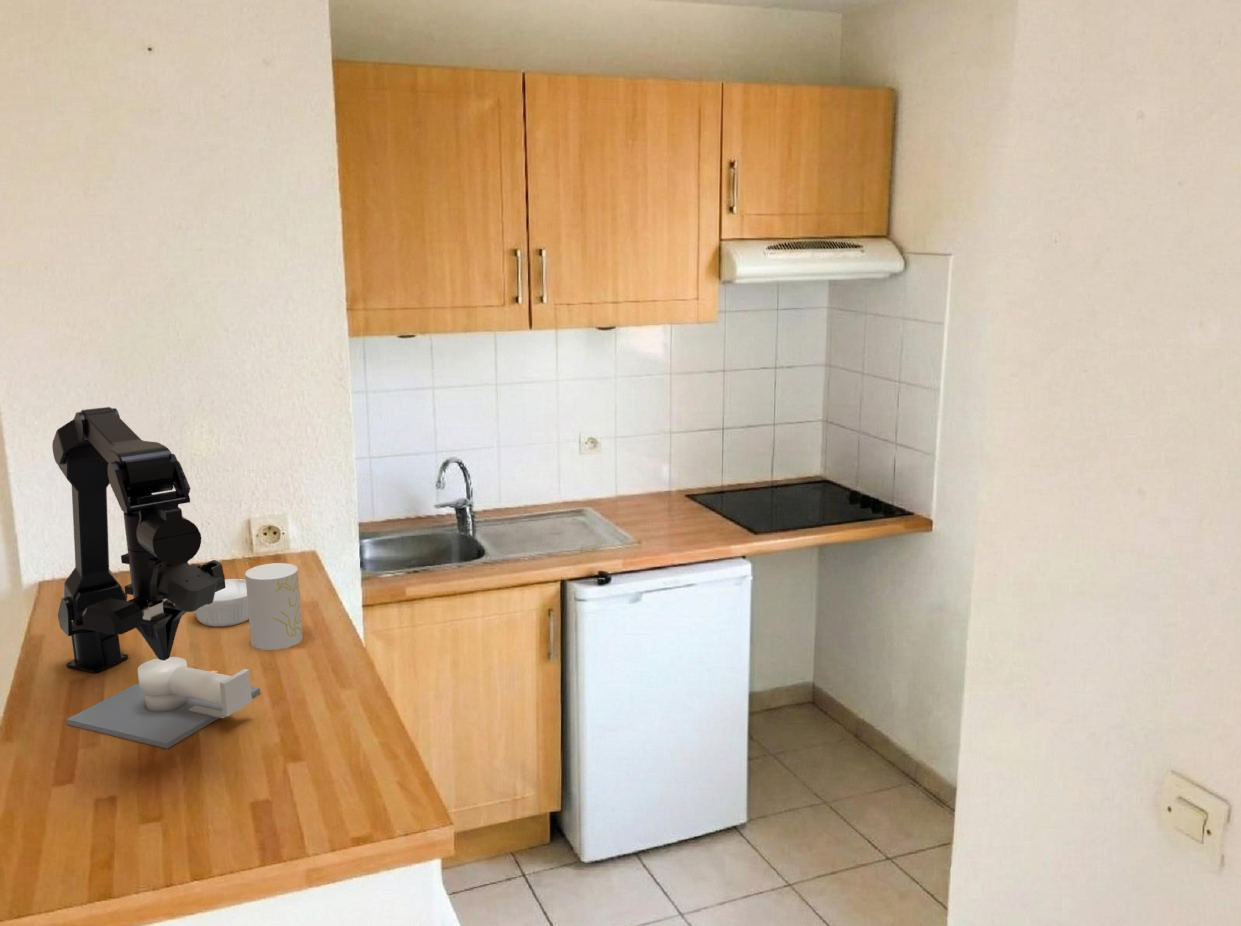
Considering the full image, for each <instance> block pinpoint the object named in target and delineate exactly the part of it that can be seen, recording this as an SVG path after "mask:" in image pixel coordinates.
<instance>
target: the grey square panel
mask: <svg viewBox="0 0 1241 926" xmlns="http://www.w3.org/2000/svg"><path fill="white" fill-rule="evenodd" d="M209 672H214V673H219V672H220V671H219V670H213V669H212V670H210V671H209ZM219 674H220V673H219ZM260 694H261V687H256V686H252V685H251V696H252V699H253V698H254V697H255V698H256V697H257V696H258V695H260ZM226 717H227V716H223V711H222V705H220V704H215V703H211V702H206V701H201V700H197V699H192V698H188V697H183V696H178V695H174V694H173V693H171V694H167V695H159V696H151V695H145V694H143V693H141V692H140V687H139V682H137V683H135V684H133V685H131V686H129V687H127V688H125V689H123V690H121V691H120V692H117V693H116V694H113V695H112V696H110V697H108V698H106V699H103V700H101V701H99V702H97V703H96V704H94V705H92V706H90V707H88V708H85V709H84V710H81V711H80V712H78V713H76V714H74V715H73V716H70V717H69V718H66V724H67V725H68V726H72V727H76V728H78V729H79V728H80V729H84V730H89V731H92V732H97V733H100V734H105V735H110V736H114V737H118V738H121V739H126V740H129V741H134V742H137V743H138V742H139V743H141V744H147V745H151V746H155V747H158V748H162V749H169V748H171V747H173V746H175V745H176V744H178V743H179V742H181V741H183V740H184V739H186V738H188V737H190V736H192V735H194V733H196V732H198V731H199V730H201V729H203V728H204V727H206V726H209V724H211V723H213V722H215V721H216V720H218V719H224V718H226Z"/></svg>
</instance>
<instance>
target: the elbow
mask: <svg viewBox="0 0 1241 926" xmlns="http://www.w3.org/2000/svg"><path fill="white" fill-rule="evenodd" d="M250 674H251V673H250V669H246V668H244V669H242V670H240V671H238V672H237V673H235V674H233V675H228V674H223V673H214V672H210V671H207V670H204V669H198V668H193V667H189V666H188V662H187V661H186V659H185V658H183V657H178V656H170V657H169V659H166V660H165V661H163V660H159V659H158V657H156V658H153V659H150V660H148V661H145V662H144V663H142V664H140V665H139V666H138V668H137V676H138V677H137V678H138V683H139V687H140V692H141V693H143V694H145V695H151V696H159V695H167V694H171V693H173V694H174V695H178V696H183V697H188V698H192V699H197V700H201V701H206V702H211V703H215V704H220V705H222V711H223V716H226V717H229V716H231V715H232V714H235V712H237V711H240V710H241V709H242V708H244V707H246V706H248V705H250V704H251V703H252V702H253V698H252V696H251V686H252V685H251V677H250Z"/></svg>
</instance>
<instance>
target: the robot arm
mask: <svg viewBox="0 0 1241 926" xmlns="http://www.w3.org/2000/svg"><path fill="white" fill-rule="evenodd" d="M120 416H121V415H120V413H119V410H118V409H117V408H115V407H114V408H112V407H111V406H105V407H98V408H97V407H96V408H88V409H87V408H86V409H82V410H81V411H77V412H76V413H75V415H74V418H73V419H72V420H70V421H68V422H67V423H65V424H64V425H62V426H61V427H59V428H58V429H57V430H56V432H55V434H54V438H53V440H52V444H51V445H52V453H53V458H54V461H55V463H56V465H57V467H58V469H60V471H61V472H62V475H63V476H64V477H65V479H66V480H67V481H68V482H69V483H70V485H71V500H72V519H73V525H72V526H73V542H74V563H75V568H74V569H73V570H72V572H71V573H70V574H69V576H68V577H67V578H66V579H65V582H64V585H63V587H64V588H63V590H64V593H63V594H64V596H63V597H61V599H60V604H59V608H58V612H57V618H58V623H59V628H60V629H61V631H62V632H63V633H64V634H65V635H66V636H67V637H71V644H72V652H73V660H70V661H68V662H66V664H65V665H66V668H71V669H75V670H80V671H85V672H88V673H89V672H90V673H100V672H101V671H104V670H105V669H108V668H109V667H112V666H114V665H116V664H118V663H120V662H122V661H124V660H127V659H128V658H129V654H127V653H123V652H121V644H120V638H119V637H120V635H123V634H126V633H128V632H130V631H132V630H134V629H136V630H137V631H138V632H139V633H140V634H141V636H142V637H143V639H144V640H145V642H146V643H147V644H148V646H149V647H150V649H151V651H152V652H153V653H154V654H155V656H156V658H158V659H159V660H163V661H165V660H166V659H169V657H171V654H172V649H173V645H174V642H175V639H176V638H175V637H176V634H177V632H178V631H177V630H178V627H179V624H180V621H181V619H182V617H183V616H184V615H185V614H186V613H194V612H195V611H196V610H197V609H198V608H200V607H202V606H204V605H206V604H208V605H209V604H211V603H212V602H213V600H214V595H215V592H217V591H219V590H222V589H224V588H226V587H225V579H226V578H225V574H224V573H225V572H224V569H223V564H222V563H221V562H219V561H218V560H215V559H213V560H209V561H207V562H205V563H204V564H199V563H198V564H196V563H192V564H189V563H188V562H189V561H191V560H192V559H193V558H194V557H195V556H196V555H197V554H198V552H199V550H200V547H201V545H202V533H201V531H200V530H199V528H198V526H197V525H196V524H195V523H194V522H192V521H191V520H189V519H187V518H186V517H184V516H183V511H182V508H181V507H179V505H183V504H188V503H191V497H190V495H189V494H190V492H191V486H190V483H189V482H188V479H187V477H186V474H185V471H184V469H183V467H182V464H181V462H180V461H179V460H178V458H177V457H176V454H174V453H172V451H171V450H170V449H169V448H168V447H167V446H165V445H164V444H162V443H160V442H158V441H148V440H142V439H141V438H140V437H139V436H138V435H137V433H136V432H135V431H133V430H132V428H131V427H129V425H128V424H127V423H125V421H124V420H122V419H121V417H120ZM109 485H110V487H111V489H112V492H113V494H114V496H115V498H116V500H117V503H118V506H119V507H120V509H121V511H122V512H123V520H124V521H123V522H124V528H125V529H124V530H125V539H126V547H127V553H125V554H122V555H120V560H121V564H123V565H128V566H129V576H130V584H127V585H124V589H123V587H122V586H121V584H120V582H119V581H118V580H117V578H116V576H115V575H114V574H113V572H112V571H111V570H110V557H109V550H110V549H109V526H108V522H109V521H108V496H107V495H108V493H107V492H108V491H107V490H108V487H109ZM128 595H131V596H132V598H131V599H129V600H128Z"/></svg>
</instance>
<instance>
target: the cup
mask: <svg viewBox="0 0 1241 926" xmlns="http://www.w3.org/2000/svg"><path fill="white" fill-rule="evenodd" d="M244 574H245V575H244V576H245V580H246V588H247V599H248V611H249V620H248V621H249V622H248V623H249V630H250V631H249V632H250V633H249V635H250V643H251V646H252V647H253V648H255V649H257V650H261V651H277V650H284V649H288V648H292V647H294V646H296V645H298V644H299V643H301V642H302V641H303V638H304V636H303V622H302V621H303V620H302V609H301V608H302V607H301V606H302V605H301V595H300V594H301V593H300V580H299V569H298V566H297V565H294V564H292V563H285V562H276V563H274V562H273V563H265V564H261V565H260V564H259V565H256V566H254V567H252V568H249V569H248V570H246V571H245V573H244Z"/></svg>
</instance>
